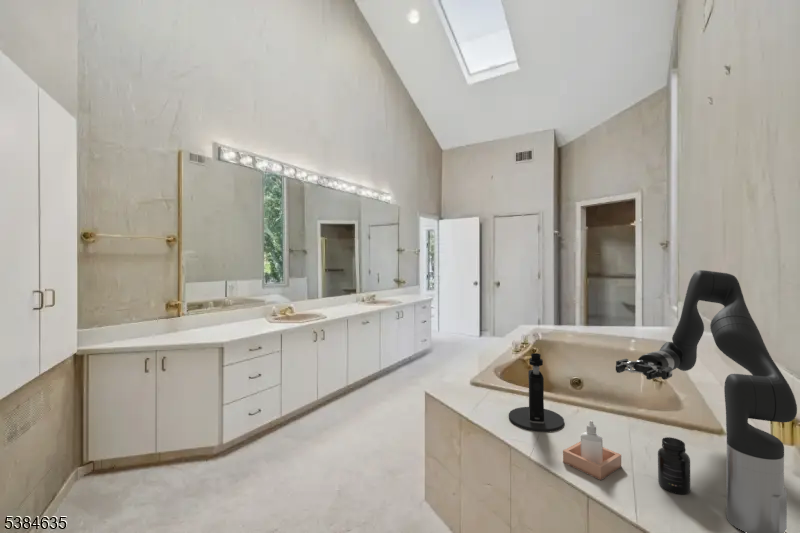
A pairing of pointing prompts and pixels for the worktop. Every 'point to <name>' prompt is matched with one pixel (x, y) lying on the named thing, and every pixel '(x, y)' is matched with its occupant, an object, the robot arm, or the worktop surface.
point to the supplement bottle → (674, 466)
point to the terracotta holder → (596, 470)
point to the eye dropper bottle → (592, 444)
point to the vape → (536, 404)
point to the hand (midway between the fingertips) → (632, 372)
